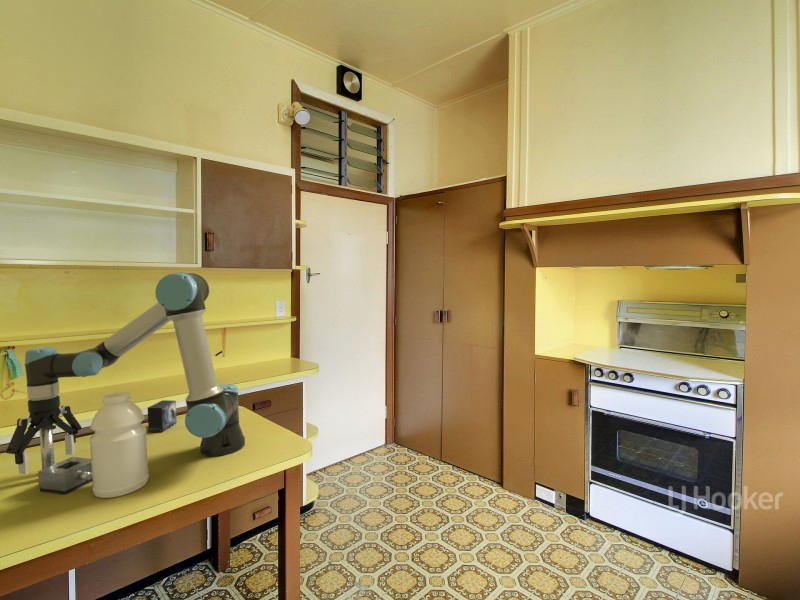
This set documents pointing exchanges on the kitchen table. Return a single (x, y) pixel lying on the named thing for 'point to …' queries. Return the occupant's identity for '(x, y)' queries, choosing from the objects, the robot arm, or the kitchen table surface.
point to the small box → (161, 416)
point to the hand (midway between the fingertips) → (48, 463)
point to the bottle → (118, 447)
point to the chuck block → (65, 475)
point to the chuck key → (47, 446)
